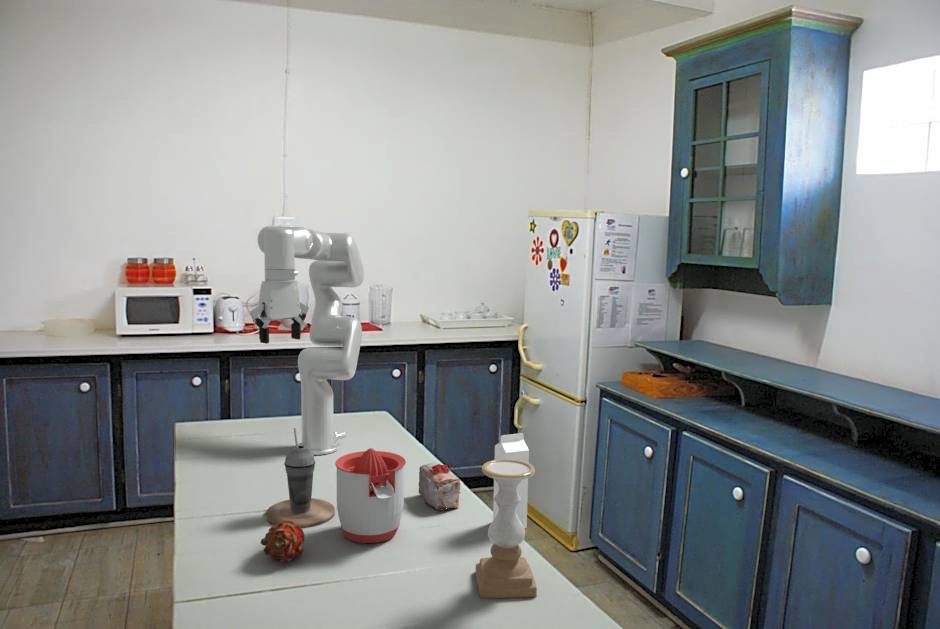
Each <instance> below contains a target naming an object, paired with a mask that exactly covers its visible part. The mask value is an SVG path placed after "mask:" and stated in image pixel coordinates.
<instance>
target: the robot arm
mask: <svg viewBox="0 0 940 629" xmlns="http://www.w3.org/2000/svg"><path fill="white" fill-rule="evenodd" d="M257 244H258V247H259V249H260V251H261V252H262V253H263V254H264V280H262V281H261V284H260V289H259V296H258V297H259V298H258V305H257V306H256V307H255V308H253V309H252V310H250V311H249V315H250V317H251V319H252V322H253V323H254V324H255V325H256V327H257V328H258V329H259V330H258V333H259V334H258V336H259V338H258V339H259V342H260V343H262V344H267V345H268V344H269V343H270V329H269V327H268V326H269V325H270V324H271V321H278V320H289V319H290V320H291V321H292V322H293V323H291V324H290V327H291V328H290V329H291V330H290V331H291V332H290V334H291V335H290V337H291V339H293V340H297V341H298V340H301V334H302V331H301V330H302V328H301V327H302V325H303V324H304V323H303V322H304V321H305V319H306V318H307V314H308V312H309V309H310V308H309V306H308V305H305V304H303V303H302V302H300V292H299V287H298V282H297V280H295V279H296V277H297V276H299V275H298V274H299V273H298V270H296V269H295V259H302V260H314V261H312V262H311V263H310V265H309V267H308V277H309V282H310V286H311V289H312V291H313V294H314V300H315V303H314V309H313V314H312V318H311V323H310V328H309V341H310V342H311V343H312V344H313V345H315V346H309V347H307V348H304V349H302V350H301V351H300V353H299V354H298V358H297V368H298V372H299V378H300V380H299V381H300V387H301V390H300V393H301V394H300V396H301V401H300V402H301V403H300V404H301V406H300V407H301V408H300V409H301V442H298V446H305V447H307V448H309V449H310V450H311V451H312V453H313V455H314V456H320V455H328V454H333V453H334V452H336V451H337V450H339V443H338V442H337V441H339V439H340V440H341V439H345V438H346V437H347V435H346V432H345V431H342V432H336V431H334V392H333V388H332V386H331V385H330V383H329V382H328V380H336V381H349V380H351V379H352V378H354V376H355V374H356V371H357V366H358V362H359V361H358V360H359V355H360V349H361V344H362V343H361V342H362V336H363V328H362V323H361V322H360V320H359V319H358V318H356V317H354V316H349V315H348V316H345V315H344V316H343V315H342V313H343V312H342V311H343V309H344V308H343V307H344V306H343V302H342V299H341V298H340V296H339V295H338V294H337V292H336V291H335V290H334V289H333V287H334V288H357V287H360V286H361V285H362V284H363V282H364V278H365V271H364V266H363V262H362V259H361V254H360V251H359V247H358V245H357V243H356V241H355V239H354V238H353V236H352V235H351V234H349V233H346V232H345V233H344V232H343V233H341V232H334V233H333V232H321V231H318V230H314V229H310V228H309V229H308V228H305V227H301V226H279V225H278V226H273V225H272V226H271V225H270V226H264V227H262V228H261V229H260V230H259V232H258V235H257Z"/></svg>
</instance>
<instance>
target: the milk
mask: <svg viewBox="0 0 940 629" xmlns="http://www.w3.org/2000/svg"><path fill="white" fill-rule="evenodd" d="M524 436H525V435H524V433H522V432H520V433H513V434H503V435H500V438H499V439H500V441H499V442H498V443H496V444H495V445H494V460H498V459H514V460H520V461H524V462H527V463H529V464H530V462H529V460H530V450H529V447H528V446H527V443H526V442H525V440H524V439H525V438H524ZM528 487H529V478H527V479H524V480H521V482H520V483H519V484H518V486H517V493H518V495H519V496H520V498H521V501H520V503H518V506H517V507H516V514H517V516H518V518H519V520H520V521H521V523H522V525H523V527H524V529H527V526H528V525H527V524H528V499H529V498H528V495H529V494H528V492H529V491H528V489H529V488H528ZM498 491H499V486H498V483H497V482H496V481H495V479H493V505H492V507H493V508H492V510H493V511H492V521H493V520H494V518H495V517H496V515H497V513H498V511H499V508H498V505H497V503H496V502H495V500H494V497H495V496H496V494H497V493H498Z"/></svg>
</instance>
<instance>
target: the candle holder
mask: <svg viewBox="0 0 940 629" xmlns="http://www.w3.org/2000/svg"><path fill="white" fill-rule="evenodd" d="M481 471H482V473H483V474H484V476H487V477H488V478H491V479H493V480H494V479H495V481H496V482H497V483H498V486H499V491H498V493H497V494H496V496H495V497H494V496H493V499H494V500H495V502H496V503H497V505H498V508H499V511H498V513H497V515H496V517H495V518H494V520H493V519H492V521H491V523H490V525H489V526H488V530H487V536H488V538H489V541H491V543H492V546H490V555H491V557H481V558H480V559H479V563H478V562H477V563H476V564H475V571H474V572H475V579H476V584H477V591H478V594H479V598H481V599H515V598H516V599H519V598H521V599H526V598H536V597H537V594H538V593H537V592H538V590H537V589H538V587H537V584H536V580H535V578H534V575H533V572H532V568H531V567H530V563H528V561H527V559H526V557H525V556H524V557H523V556H522V551H523V550H522V548H521V546H520V544H522V543H523V542H524V540H525V538H526V530H525V529H526V528H524V527H523V525H522V523H521V521H520V520H519V518H518V516H517V514H516V507H517V506H518V503H520V501H521V498H520V496H519V495H518V493H517V486H518V484H519V483H520V482H521V480H524V479H527V478H528V479H529V478H531V477H533V476H534V474H535V472H536V470H535V467H534V466H533V464H531V463H530V462H529V463H527V462H524V461H520V460H514V459H498V460H495V459H493V460H490V461H487V462H484V464H483V465H482V467H481Z"/></svg>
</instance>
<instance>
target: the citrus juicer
mask: <svg viewBox="0 0 940 629" xmlns="http://www.w3.org/2000/svg"><path fill="white" fill-rule="evenodd" d="M406 463H407V462H406V458H404V457H403V456H402V455H400V454H397V453H395V452H394V453H393V452H389V451H384V450H382V451H380V450H375V449H374V448H372V447H370V448H368V449H367V450H364V451H356V452H350V453H348V454H344V455H342V456H340V457H338V458H336V461H335V464H334V465H335V466H336V467H335V468H336V509H337V515H338V519H339V522H340V527H341V530H342V532H343V535H344V536H345V537H346V538H347V539H348V540H350V541H353V542H356V543H358V544H374V543H380V542H384V541H388V540H390V539H392V538H393V537H395V535H396V534H397V532H398V529H399V526H400V524H401V519H402V515H403V511H404V506H405V505H404V504H405V465H406Z"/></svg>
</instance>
